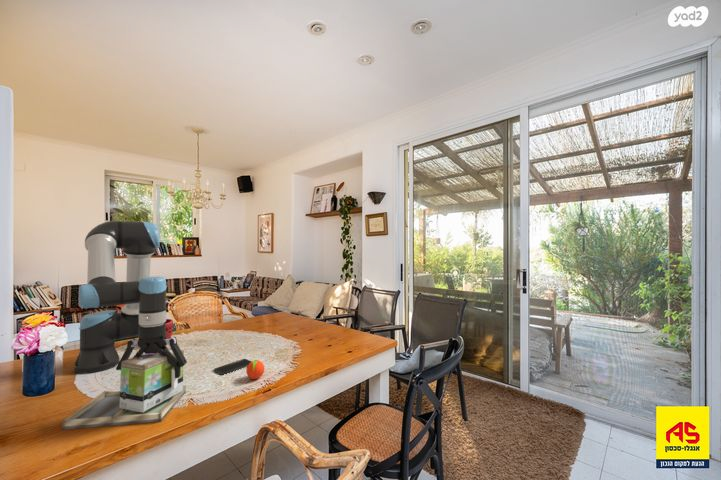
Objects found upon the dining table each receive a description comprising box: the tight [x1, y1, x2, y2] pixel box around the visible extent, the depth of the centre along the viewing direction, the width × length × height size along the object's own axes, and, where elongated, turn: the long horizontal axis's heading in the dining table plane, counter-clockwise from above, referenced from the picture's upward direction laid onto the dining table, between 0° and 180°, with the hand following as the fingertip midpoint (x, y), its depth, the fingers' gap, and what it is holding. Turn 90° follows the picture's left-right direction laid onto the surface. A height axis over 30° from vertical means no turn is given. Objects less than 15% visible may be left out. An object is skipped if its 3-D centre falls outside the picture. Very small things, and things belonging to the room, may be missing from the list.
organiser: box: [61, 385, 187, 431], centre depth 101 cm, size 26×19×2 cm
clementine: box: [245, 359, 265, 380], centre depth 124 cm, size 8×7×7 cm
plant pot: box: [164, 318, 174, 346], centre depth 165 cm, size 13×13×12 cm
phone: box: [213, 358, 253, 376], centre depth 135 cm, size 8×1×15 cm
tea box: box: [119, 347, 185, 413], centre depth 103 cm, size 15×10×15 cm, turn 164°
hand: (152, 389), depth 102 cm, fingers open, 13 cm apart
